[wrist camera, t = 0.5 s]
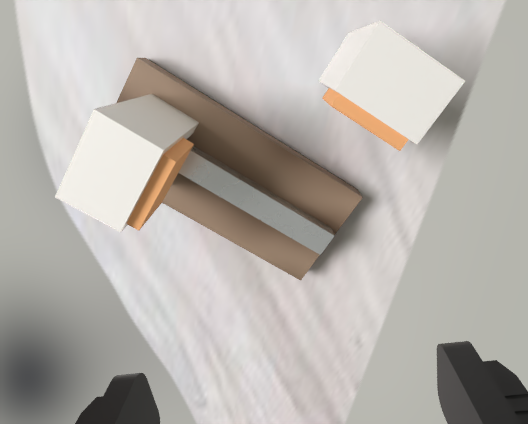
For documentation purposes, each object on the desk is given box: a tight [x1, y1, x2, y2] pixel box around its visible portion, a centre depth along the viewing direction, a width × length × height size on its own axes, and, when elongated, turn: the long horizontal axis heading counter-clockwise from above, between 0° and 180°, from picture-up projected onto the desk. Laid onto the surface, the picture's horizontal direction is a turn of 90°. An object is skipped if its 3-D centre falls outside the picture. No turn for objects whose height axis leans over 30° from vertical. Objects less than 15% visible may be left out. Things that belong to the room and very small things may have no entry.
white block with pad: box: [318, 21, 465, 151], centre depth 26 cm, size 6×5×10 cm
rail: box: [55, 58, 363, 280], centre depth 28 cm, size 9×20×12 cm, turn 59°
